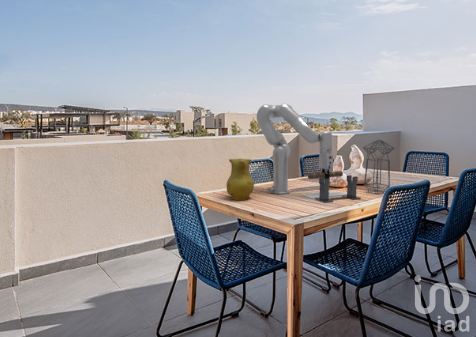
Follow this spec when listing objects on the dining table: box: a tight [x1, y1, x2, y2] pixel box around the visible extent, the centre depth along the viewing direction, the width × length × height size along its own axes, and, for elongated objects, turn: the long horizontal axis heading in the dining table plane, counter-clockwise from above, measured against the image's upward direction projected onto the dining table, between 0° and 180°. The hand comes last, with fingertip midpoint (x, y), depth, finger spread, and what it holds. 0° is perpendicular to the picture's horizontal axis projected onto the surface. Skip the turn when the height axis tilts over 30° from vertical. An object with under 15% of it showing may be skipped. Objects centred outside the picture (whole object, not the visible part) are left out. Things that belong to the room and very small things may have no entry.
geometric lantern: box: [362, 139, 396, 195], centre depth 234 cm, size 16×16×35 cm
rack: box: [314, 174, 362, 204], centre depth 216 cm, size 26×10×14 cm, turn 111°
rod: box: [307, 170, 344, 180], centre depth 229 cm, size 24×4×4 cm, turn 111°
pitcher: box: [225, 158, 255, 201], centre depth 222 cm, size 17×19×25 cm
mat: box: [300, 190, 347, 199], centre depth 230 cm, size 28×12×1 cm, turn 111°
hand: (325, 179), depth 229 cm, fingers closed on rod, 3 cm apart
